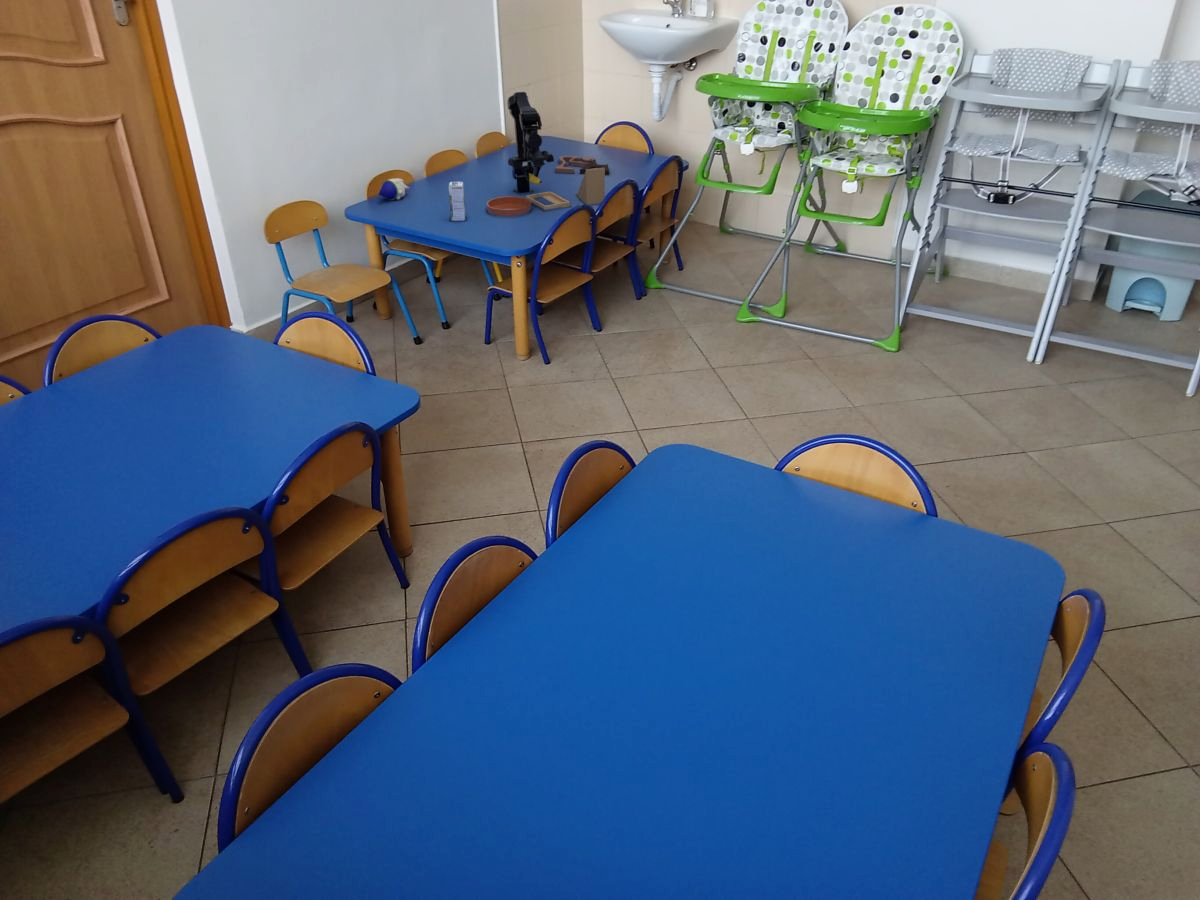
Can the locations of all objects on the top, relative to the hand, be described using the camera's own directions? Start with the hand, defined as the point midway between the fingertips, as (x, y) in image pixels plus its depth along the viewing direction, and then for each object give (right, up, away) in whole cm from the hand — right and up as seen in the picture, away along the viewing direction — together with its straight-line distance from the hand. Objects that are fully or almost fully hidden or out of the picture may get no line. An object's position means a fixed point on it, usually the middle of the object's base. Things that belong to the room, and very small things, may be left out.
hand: (532, 180), depth 375 cm
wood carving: (+21, +23, +57) cm, 65 cm away
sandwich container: (+24, -4, +14) cm, 29 cm away
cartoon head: (-61, -4, +15) cm, 63 cm away
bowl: (-10, -12, +1) cm, 16 cm away
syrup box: (-30, -18, -8) cm, 36 cm away
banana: (0, -1, 0) cm, 1 cm away
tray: (+6, -7, +9) cm, 13 cm away
